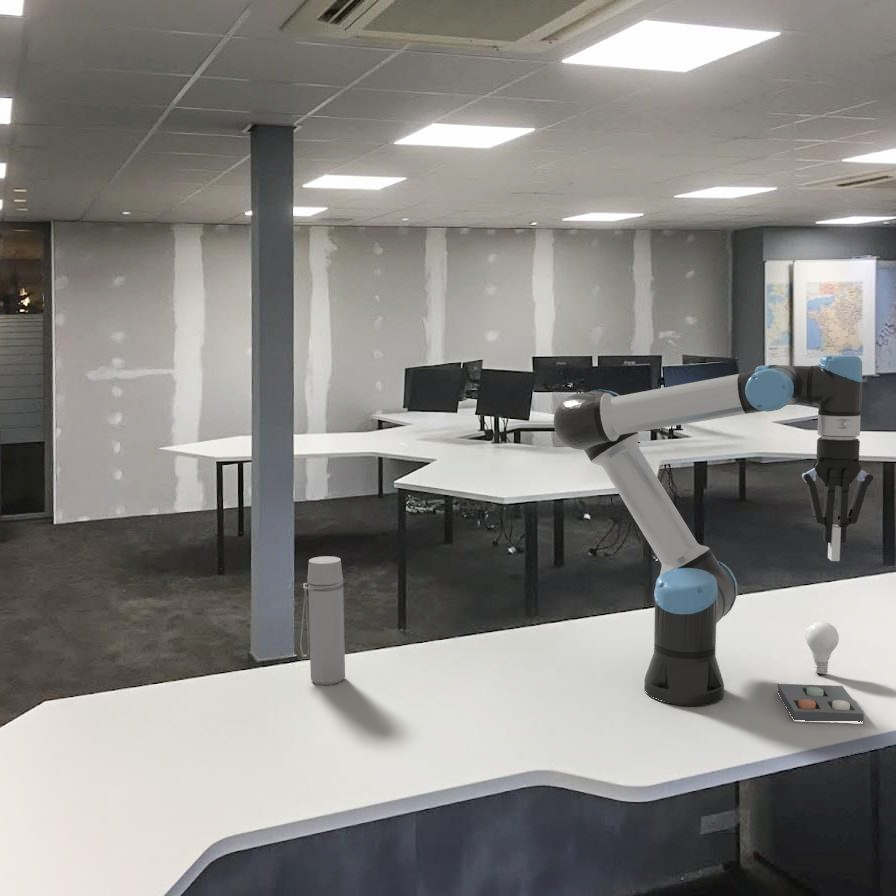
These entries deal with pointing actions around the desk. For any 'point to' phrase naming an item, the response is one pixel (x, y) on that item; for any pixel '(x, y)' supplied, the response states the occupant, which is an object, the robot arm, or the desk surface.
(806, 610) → the desk surface
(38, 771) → the desk surface
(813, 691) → the sage button
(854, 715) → the panel
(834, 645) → the lightbulb
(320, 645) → the water bottle
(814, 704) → the rust button
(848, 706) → the cream button
